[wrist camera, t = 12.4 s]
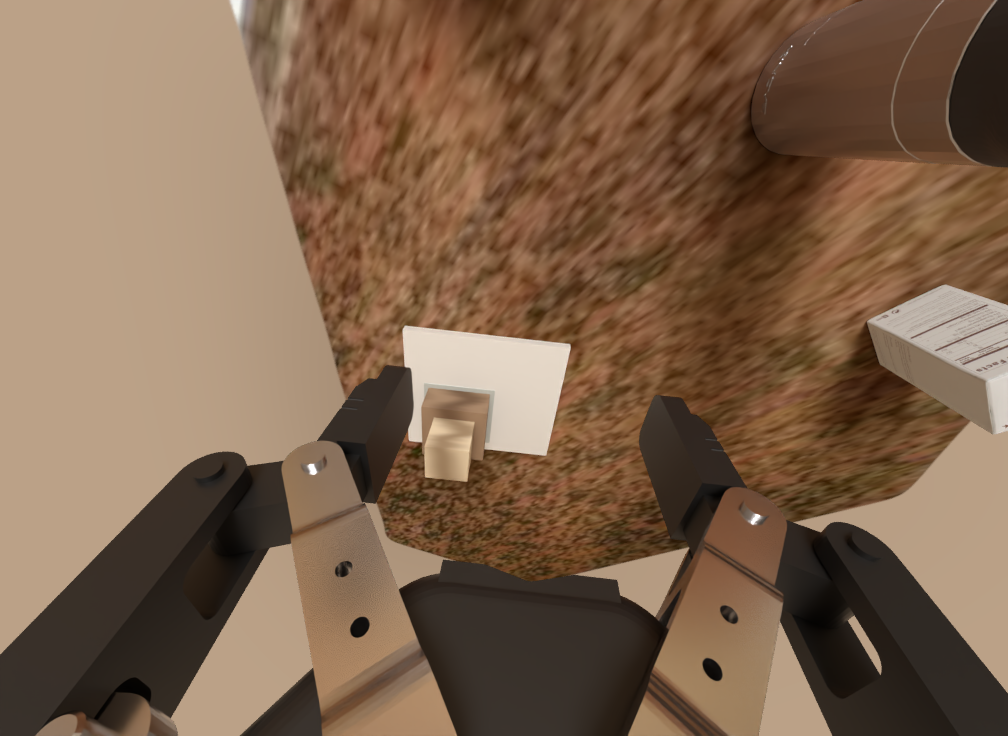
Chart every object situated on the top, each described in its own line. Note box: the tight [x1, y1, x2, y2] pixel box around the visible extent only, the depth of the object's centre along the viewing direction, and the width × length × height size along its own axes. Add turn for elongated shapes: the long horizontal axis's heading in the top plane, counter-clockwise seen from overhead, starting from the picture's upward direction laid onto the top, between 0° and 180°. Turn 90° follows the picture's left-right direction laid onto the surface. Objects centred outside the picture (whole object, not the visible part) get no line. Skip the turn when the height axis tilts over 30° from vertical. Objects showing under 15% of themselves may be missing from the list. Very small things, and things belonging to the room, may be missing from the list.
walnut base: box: [421, 388, 490, 460], centre depth 47 cm, size 8×8×4 cm
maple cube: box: [425, 418, 475, 482], centre depth 44 cm, size 5×5×5 cm
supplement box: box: [867, 285, 1008, 434], centre depth 35 cm, size 7×7×13 cm
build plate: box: [403, 326, 571, 456], centre depth 48 cm, size 20×18×1 cm
